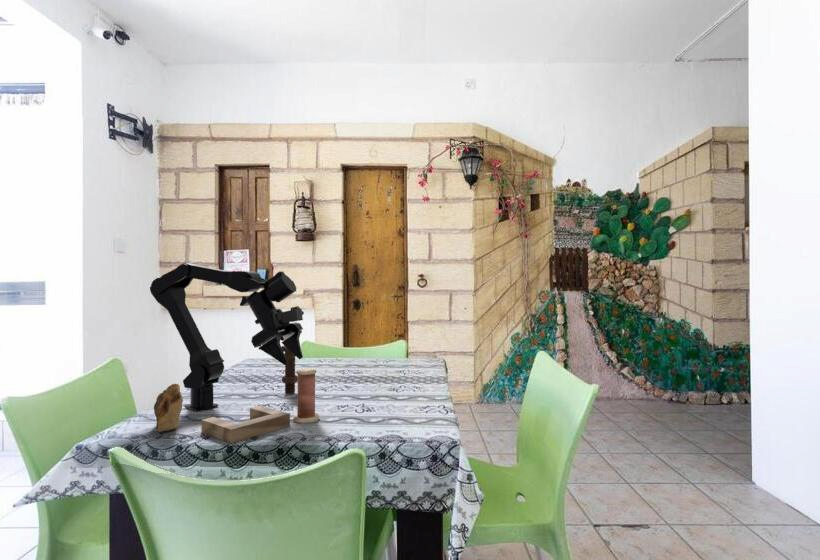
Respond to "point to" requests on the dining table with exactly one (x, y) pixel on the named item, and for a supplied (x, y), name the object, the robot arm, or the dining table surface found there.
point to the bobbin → (306, 397)
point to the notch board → (247, 425)
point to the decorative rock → (168, 408)
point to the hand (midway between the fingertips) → (293, 361)
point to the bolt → (289, 372)
